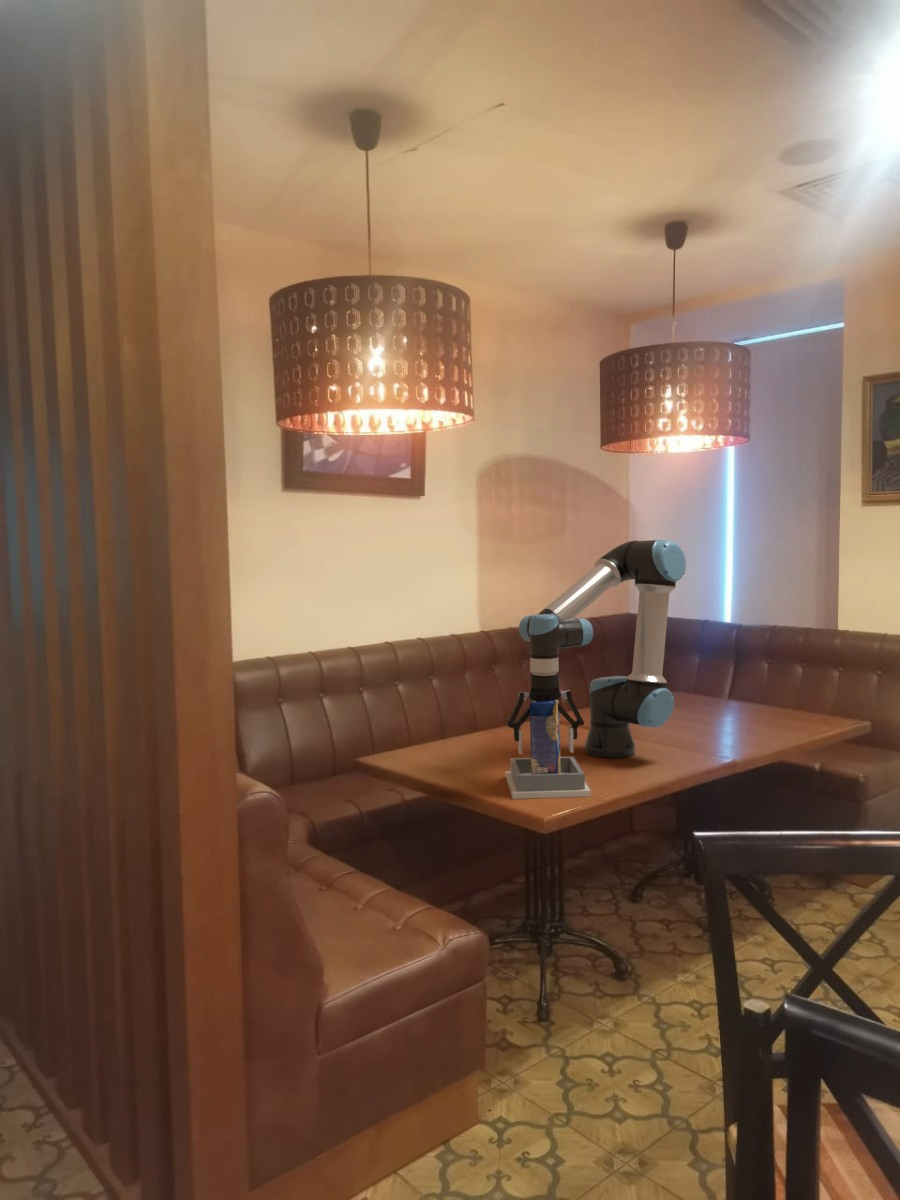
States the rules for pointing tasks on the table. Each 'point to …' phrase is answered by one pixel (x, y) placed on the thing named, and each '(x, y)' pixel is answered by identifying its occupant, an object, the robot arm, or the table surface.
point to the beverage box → (545, 737)
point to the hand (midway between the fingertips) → (545, 752)
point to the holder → (546, 780)
